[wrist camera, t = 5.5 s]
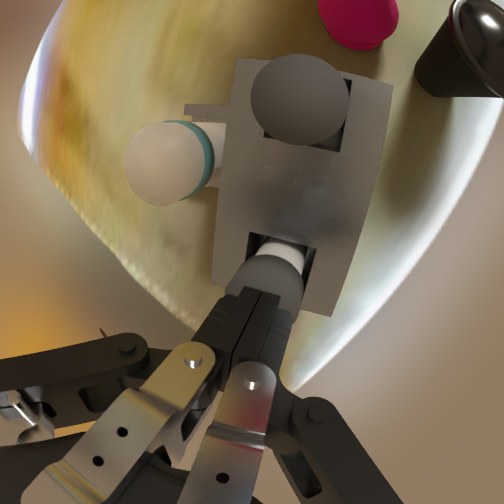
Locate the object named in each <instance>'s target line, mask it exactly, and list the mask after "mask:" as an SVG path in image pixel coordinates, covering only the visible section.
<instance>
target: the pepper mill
mask: <svg viewBox="0 0 504 504" xmlns="http://www.w3.org/2000/svg"><path fill="white" fill-rule="evenodd" d="M318 10H319V14H320V16H321V18H322V20H323V21H324V23H325V24H326V28H327V30H328V32H329V34H330V35H331V37H332V38H333V39H334V40H335V41H337V42H338V43H339V44H341V45H343V46H345V47H347V48H350V49H354V50H370V49H373V48H375V47H377V46H379V45H380V44H381V43H382V41H383V40H385V39H386V38H388V37H389V36H391V35H392V34H393V32H394V31H395V29H396V26H397V24H398V19H399V12H398V8H397V4H396V2H395V0H318Z"/></svg>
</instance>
